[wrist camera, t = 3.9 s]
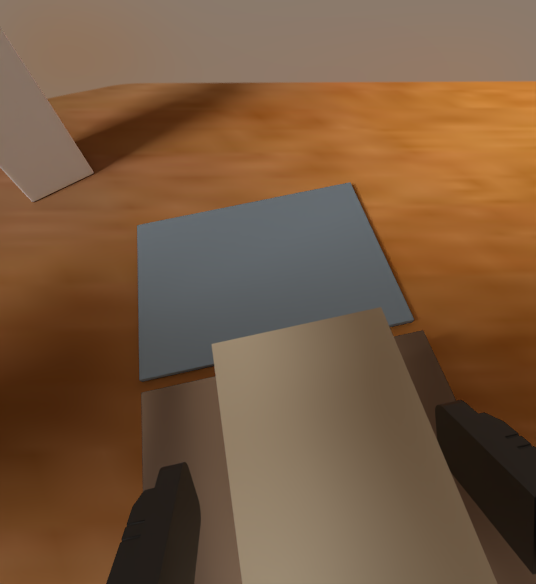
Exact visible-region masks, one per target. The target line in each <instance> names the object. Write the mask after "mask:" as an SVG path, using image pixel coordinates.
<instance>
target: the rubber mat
mask: <svg viewBox="0 0 536 584" xmlns="http://www.w3.org/2000/svg"><path fill="white" fill-rule="evenodd" d="M137 246H138V315H139V380H140V381H142V382H143V381H148V380H152V379H157V378H161V377H166V376H170V375H175V374H179V373H184V372H188V371H193V370H197V369H202V368H207V367H211V366H214V360H213V352H212V344H214V343H218V342H223V341H228V340H232V339H237V338H241V337H246V336H251V335H255V334H260V333H264V332H269V331H273V330H278V329H283V328H287V327H292V326H296V325H301V324H306V323H310V322H315V321H319V320H324V319H329V318H333V317H338V316H342V315H347V314H352V313H356V312H361V311H365V310H370V309H375V308H379V307H381V308H382V310H383V313H384V315H385V317H386V320H387V322H388V325H389V327H393V326H397V325H402V324H406V323H411V322H413V321H414V318H413V316H412V314H411V312H410V309H409V307H408V305H407V303H406V301H405V299H404V297H403V294H402V292H401V290H400V288H399V286H398V284H397V282H396V279H395V277H394V275H393V273H392V271H391V269H390V267H389V264H388V262H387V260H386V258H385V256H384V254H383V252H382V249H381V247H380V245H379V243H378V241H377V239H376V237H375V234H374V232H373V230H372V228H371V226H370V224H369V222H368V219H367V217H366V215H365V213H364V211H363V209H362V206H361V204H360V202H359V200H358V198H357V196H356V194H355V191H354V189H353V187H352V185H351V183H345V184H340V185H335V186H330V187H325V188H320V189H315V190H310V191H305V192H300V193H295V194H290V195H285V196H280V197H275V198H270V199H266V200H261V201H256V202H251V203H246V204H241V205H236V206H231V207H226V208H221V209H216V210H211V211H206V212H201V213H196V214H191V215H186V216H181V217H176V218H171V219H166V220H161V221H157V222H152V223H147V224H142V225H137Z"/></svg>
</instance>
